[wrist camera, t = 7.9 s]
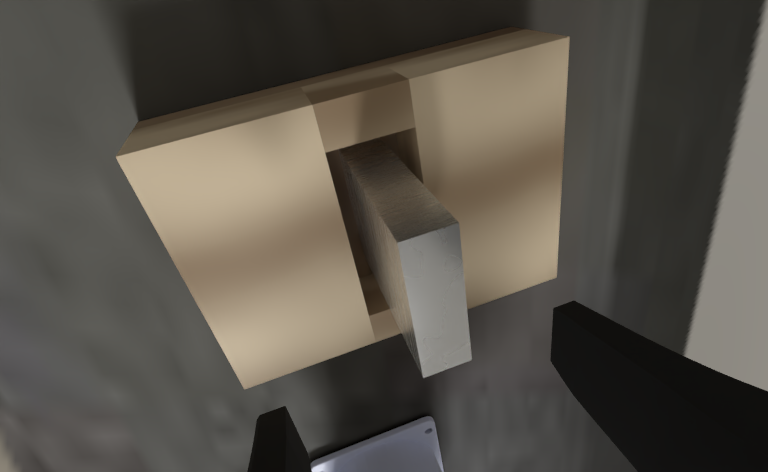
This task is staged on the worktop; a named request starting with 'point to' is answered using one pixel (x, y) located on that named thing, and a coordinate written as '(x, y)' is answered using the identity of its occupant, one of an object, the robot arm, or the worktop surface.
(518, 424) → the worktop surface
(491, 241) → the slotted tan block
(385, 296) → the silver rectangular block
